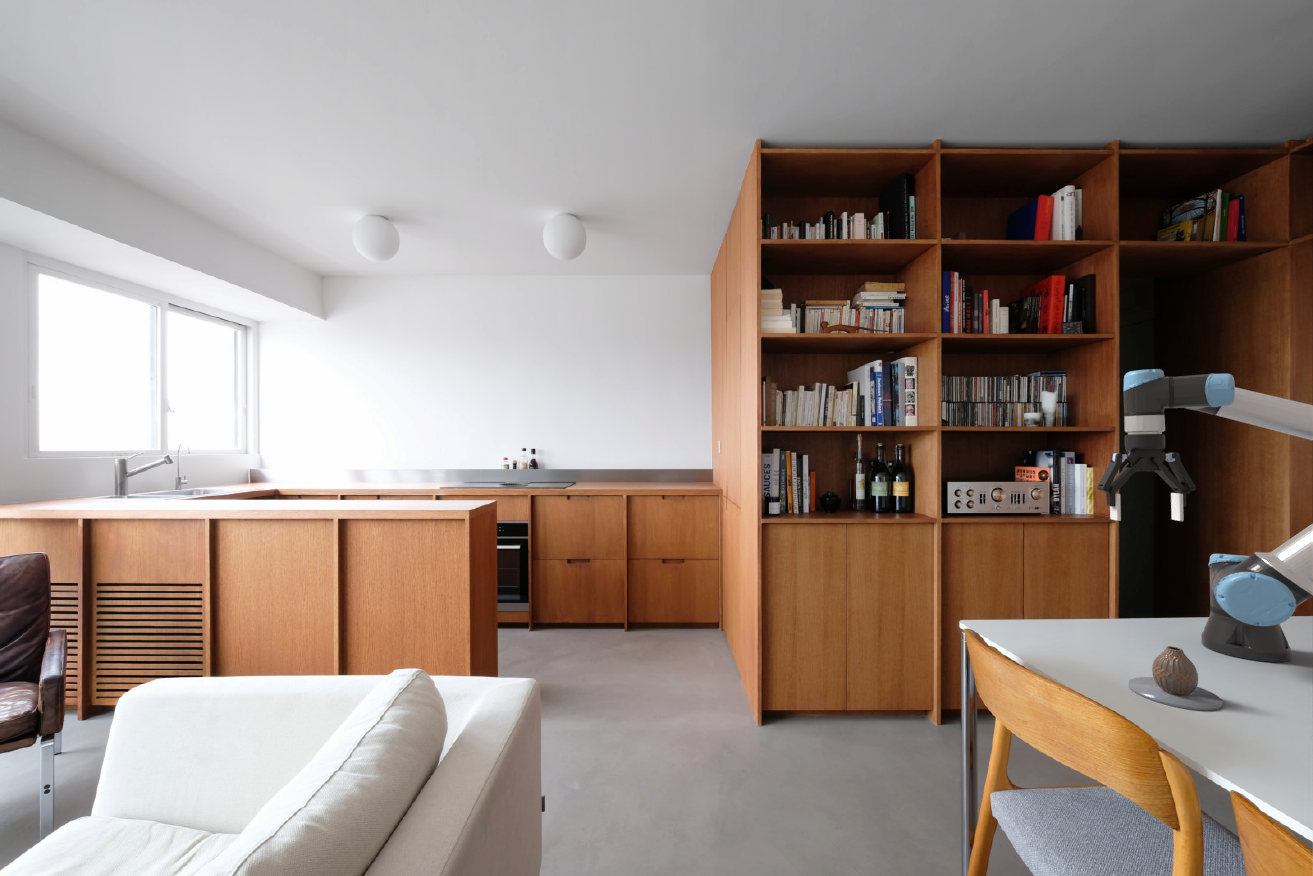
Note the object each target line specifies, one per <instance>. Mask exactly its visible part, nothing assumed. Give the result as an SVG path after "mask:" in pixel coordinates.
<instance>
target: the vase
mask: <svg viewBox="0 0 1313 876" xmlns="http://www.w3.org/2000/svg"><path fill="white" fill-rule="evenodd" d="M1151 668H1152V669H1151V671H1152V677H1153V678H1154V680H1155V682H1156V683H1157V685H1158V686H1159V687H1160V688H1161V689H1162V690H1164V691H1165V692H1168V693H1171V694H1174V695H1180V696H1187V695H1189V694H1191V693H1193V692H1194V691H1195V690H1196V688H1197V687H1198V685H1199V674H1198V670H1197V668H1196V665H1195V664H1194V663H1193V662H1192V661H1191V660H1190V659H1189V657H1188V656H1187V655H1186V654H1185V652H1184V650H1183V649H1182V648H1180V647H1177V646H1174V645H1173V646H1169V645H1168V646H1165V648H1164V650H1163V651H1161V652H1160V654H1158V655H1157V656H1156V657H1155V658H1154V660H1153V663H1152V666H1151Z"/></svg>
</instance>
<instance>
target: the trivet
mask: <svg viewBox="0 0 1313 876" xmlns="http://www.w3.org/2000/svg"><path fill="white" fill-rule="evenodd" d="M1128 688H1129V689H1130V690H1131V691H1132V692H1133V693H1134V694H1137V695H1138V696H1141V697H1143V698H1145V699H1147V700H1150V701H1153V702H1157V703H1159V704H1162V705H1165V706H1170V707H1174V708H1178V709H1184V710H1192V711H1208V712H1209V711H1217V710H1219V709H1221V708H1222V707H1223V700H1222V699H1221V698H1220V697H1219V696H1218V695H1217V694H1215V693H1214V692H1211V691H1209V690H1207V689H1205V688H1202V687H1199V686H1197V688H1196V690H1195V691H1194V692H1193V693H1191V694H1189V695H1187V696H1180V695H1174V694H1171V693H1168V692H1165V691H1164V690H1162V689H1161V688H1160V687H1159V686H1158V685H1157V683H1156V682H1155V680H1154V677H1153V676H1152V677H1149V676H1148V677H1147V676H1142V677H1140V676H1139V677H1134V678H1131V679H1129V681H1128Z"/></svg>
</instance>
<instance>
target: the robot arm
mask: <svg viewBox="0 0 1313 876" xmlns="http://www.w3.org/2000/svg"><path fill="white" fill-rule="evenodd" d="M1235 384H1236V383H1235V379H1234V376H1233V375H1232V374H1230V373H1208V374H1195V375H1183V376H1165V374H1164V370H1162V369H1160V368H1159V369H1158V368H1156V369H1155V368H1153V369H1139V370H1131V371H1128V372H1126V373H1125V374H1124V378H1123V391H1122V392H1123V408H1124V409H1123V413H1124V414H1123V415H1124V416H1123V417H1124V432H1125V433H1127V434H1125V435H1124V449H1125V453H1124V454H1123V453H1121V452H1119V453H1118V452H1117V453H1115V452H1112V453H1111V455H1110V462H1109V464H1108V466H1107V468H1106V470H1105V471H1104V474H1102V477H1101V479H1100V480H1099V483H1098V485H1097V487H1096V489H1097V490H1098V491H1101V492H1104V493H1105V494H1106V495H1105V496H1106V506H1107V507H1109V512H1110V513H1109V515H1110V516H1109V518H1110V520H1113V521H1117V522H1118V521H1120V522H1121V521H1122V520H1121V519H1122V518H1121V516H1122V515H1121V514H1122V513H1121V512H1122V511H1121V510H1122V509H1121V493H1117V492H1118V491H1120V489H1121V488H1122V487H1123V486H1124V485H1125V483H1126V482H1127V481H1128V480H1129V479H1130V478H1132V476H1133V475H1134V474H1136V473H1137V472H1154V473H1156V474H1157V475H1159V477H1160V478H1162V480H1163V481H1164V482H1165V484H1167V486H1169V487H1170V488H1171V489H1172V490H1173V491H1174V492H1171V493H1170V503H1171V504H1170V505H1171V509H1170V511H1171V520H1174V521H1179V522H1184V507H1185V508H1186V507H1187V495H1188V494H1190V493H1191V492H1192V491H1193V492H1194V491H1196V490H1197V487H1196V485H1195V483H1194V482H1193V480H1192V478H1191V476H1190V475H1189V474H1188V471H1187V470H1186V469H1185V466H1184V465H1183V463H1182V460H1181V454H1180V453H1179V452H1168V453H1165V448H1166V435H1165V434H1164V433H1162V432H1165V431H1166V425H1165V421H1166V420H1165V419H1166V418H1165V409H1178V408H1179V409H1180V408H1181V409H1183V408H1184V409H1187V410H1190V411H1198V412H1201V413H1206V414H1209V415H1214V416H1218V417H1222V418H1225V419H1229V420H1233V421H1237V422H1239V423H1240V422H1241V423H1245V424H1249V425H1253V426H1256V427H1258V428H1259V427H1260V428H1264V429H1268V430H1272V431H1275V432H1280V433H1283V434H1286V435H1289V436H1290V435H1291V436H1295V437H1298V438H1302V439H1304V440H1309V441H1313V404H1309V403H1304V402H1299V401H1295V400H1292V399H1288V398H1282V397H1279V396H1274V395H1270V394H1265V393H1261V392H1256V391H1253V390H1248V389H1245V388H1240V387H1236V386H1235ZM1165 461H1166V462H1167V464H1168V465H1169V467H1170V469H1171V471H1172V472H1173V474H1172V472H1171V471H1169V468H1168V467H1167V466H1166V464H1164V462H1165ZM1124 462H1127V463H1126V464H1125V465H1124V467H1122V464H1123V463H1124ZM1121 467H1122V470H1121V471H1120V472H1119V470H1120V468H1121ZM1118 472H1119V473H1118ZM1117 473H1118V475H1117ZM1208 567H1209V597H1210V598H1209V599H1210V602H1209V603H1210V606H1209V607H1210V612H1209V616H1208V619H1207V621H1206V624H1205V626H1204V630H1203V631H1202V632H1201V645H1202V646H1204V647H1205V648H1206V649H1209V650H1211V651H1215V652H1217V653H1220V654H1223V655H1227V656H1232V657H1236V658H1241V659H1247V660H1253V661H1261V662H1271V663H1275V662H1278V663H1279V662H1280V663H1281V662H1282V663H1283V662H1288V661H1290V660H1292V648H1291V646H1290V645H1289V641H1288V639H1287V637H1286V635H1285V633H1284V631H1283V629H1282V627H1281V624H1282V623H1285V622H1286V621H1288V620H1289V619H1290V618H1291V617H1292V615H1293V614H1294V612H1296V608H1297V607H1298V606H1299V605H1301V604H1303V603H1304V602H1306V601H1308V600H1309V599H1311V597H1313V523H1311V524H1310V525H1308V526H1307V527H1305V528H1304V529H1303V530H1301V531H1299V532H1298V533H1296V534H1295V535H1294V536H1292V537H1291V538H1289V539H1288V540H1286V541H1285V542H1283V543H1282V544H1280V545H1279V546H1278V547H1276V548H1275V549H1273V550H1272V551H1269V552H1258V551H1255V552H1254V553H1252V554H1251V555H1237V554H1229V553H1227V554H1226V553H1213V554H1211V555H1210V556H1209V562H1208Z"/></svg>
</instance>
